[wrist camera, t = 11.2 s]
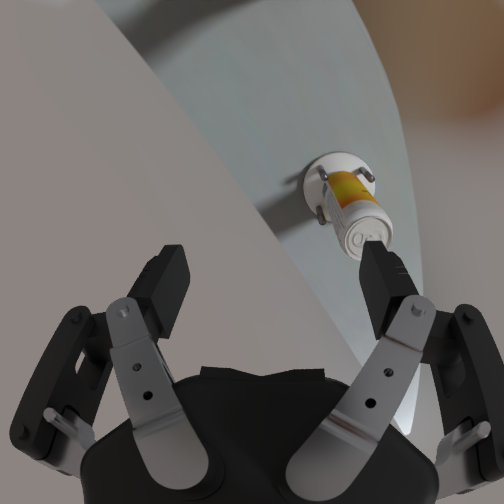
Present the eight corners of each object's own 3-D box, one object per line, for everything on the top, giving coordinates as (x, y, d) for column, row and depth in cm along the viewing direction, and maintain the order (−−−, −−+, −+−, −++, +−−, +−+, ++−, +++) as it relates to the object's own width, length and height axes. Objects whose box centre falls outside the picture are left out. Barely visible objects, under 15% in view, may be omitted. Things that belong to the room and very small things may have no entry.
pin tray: (303, 150, 38) (306, 159, 33) (375, 153, 36) (388, 163, 32) (302, 218, 43) (305, 236, 39) (368, 219, 42) (378, 236, 37)
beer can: (357, 208, 40) (388, 265, 28) (319, 206, 41) (336, 264, 28) (362, 171, 37) (402, 215, 24) (322, 167, 37) (345, 211, 25)
